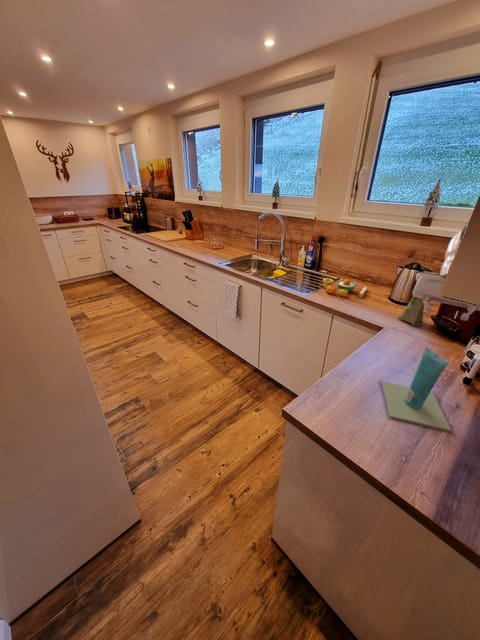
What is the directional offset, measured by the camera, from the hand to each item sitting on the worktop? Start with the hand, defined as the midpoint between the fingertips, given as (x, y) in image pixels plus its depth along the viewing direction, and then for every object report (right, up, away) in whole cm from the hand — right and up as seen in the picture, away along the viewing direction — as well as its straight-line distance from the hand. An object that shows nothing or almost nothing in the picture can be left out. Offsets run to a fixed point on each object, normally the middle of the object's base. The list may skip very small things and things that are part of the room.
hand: (445, 315), depth 80 cm
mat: (-8, -29, +4) cm, 30 cm away
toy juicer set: (+5, +16, +87) cm, 89 cm away
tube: (-8, -28, +3) cm, 29 cm away
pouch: (+25, -2, +55) cm, 61 cm away
